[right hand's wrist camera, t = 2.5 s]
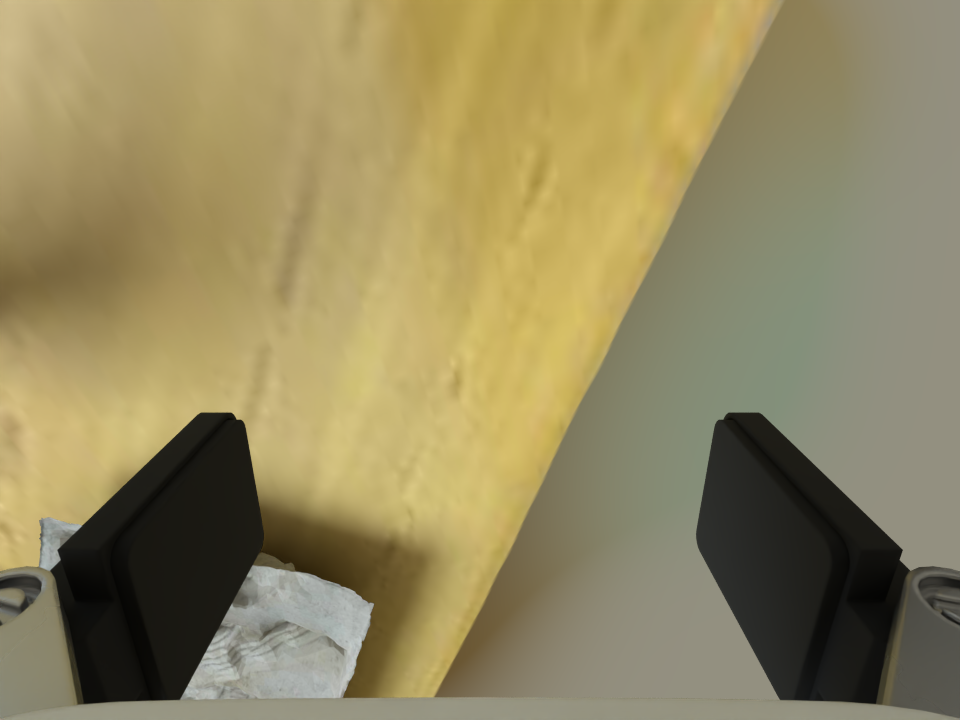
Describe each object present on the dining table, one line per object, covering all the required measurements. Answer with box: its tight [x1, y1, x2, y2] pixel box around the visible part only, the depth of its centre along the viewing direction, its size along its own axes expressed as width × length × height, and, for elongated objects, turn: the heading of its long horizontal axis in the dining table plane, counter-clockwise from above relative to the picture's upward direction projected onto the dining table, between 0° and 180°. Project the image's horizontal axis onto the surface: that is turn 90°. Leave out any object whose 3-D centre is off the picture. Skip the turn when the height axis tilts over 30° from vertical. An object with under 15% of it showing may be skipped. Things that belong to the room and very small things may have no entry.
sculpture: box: [39, 517, 374, 700], centre depth 55 cm, size 38×6×30 cm
